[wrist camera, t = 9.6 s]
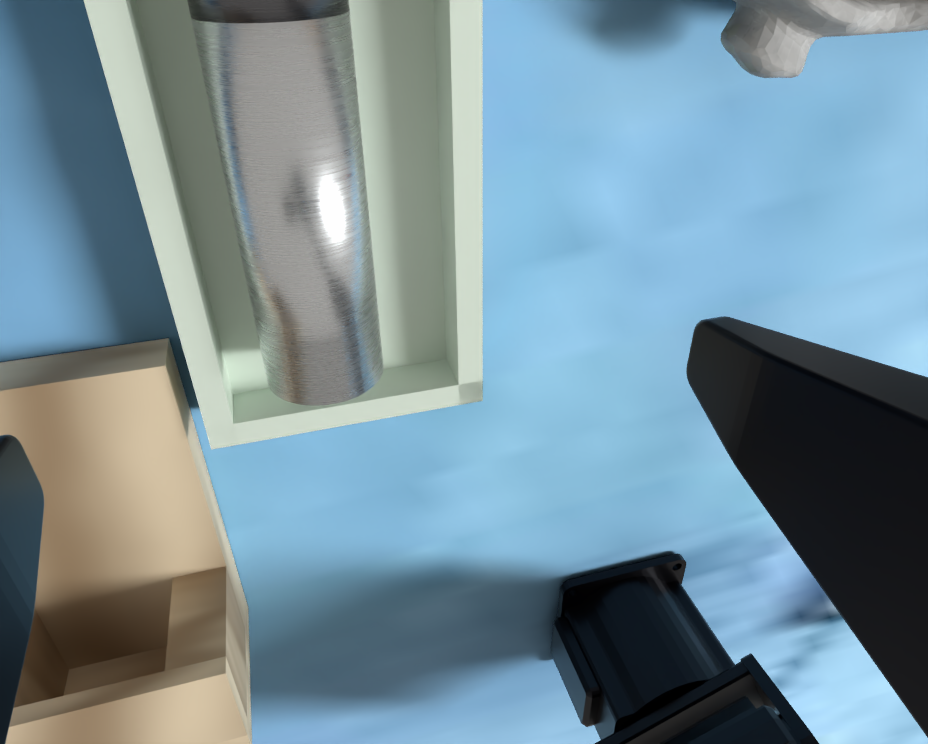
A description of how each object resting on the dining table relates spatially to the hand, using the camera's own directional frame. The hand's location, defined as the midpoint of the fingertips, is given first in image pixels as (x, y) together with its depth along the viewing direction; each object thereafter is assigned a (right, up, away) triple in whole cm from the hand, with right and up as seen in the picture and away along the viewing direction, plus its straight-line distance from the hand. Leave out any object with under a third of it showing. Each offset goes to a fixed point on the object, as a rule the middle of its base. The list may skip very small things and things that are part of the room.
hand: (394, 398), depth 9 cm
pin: (-3, +5, +8) cm, 10 cm away
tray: (-3, +6, +10) cm, 12 cm away
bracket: (-12, -4, +14) cm, 19 cm away
